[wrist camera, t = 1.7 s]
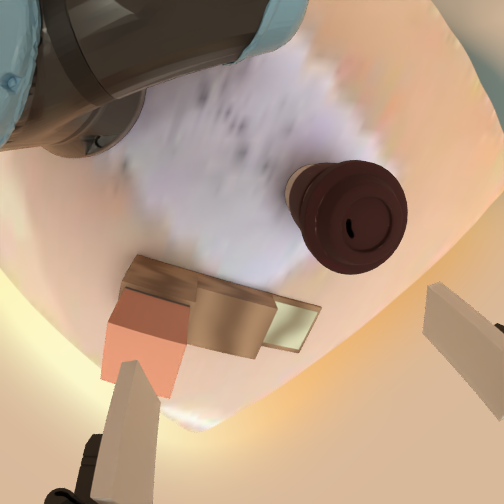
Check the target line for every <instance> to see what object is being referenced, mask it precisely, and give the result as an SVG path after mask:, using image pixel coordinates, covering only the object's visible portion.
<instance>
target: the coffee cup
mask: <svg viewBox="0 0 504 504" xmlns="http://www.w3.org/2000/svg"><path fill="white" fill-rule="evenodd" d="M285 200H286V204H287V207H288V209H289V210H290V212H291V215H292V217H293V219H294V221H295V222H296V224H297V225H298V227H299V228H300V230H301V232H302V236H303V239H304V241H305V244H306V246H307V247H308V249H309V251H310V252H311V253H312V254H313V256H314V257H315V258H316V259H317V260H318V261H319V262H320V263H321V264H322V265H323V266H325V267H326V268H328V269H330V270H332V271H334V272H337V273H341V274H348V275H353V274H361V273H365V272H368V271H370V270H373V269H375V268H376V267H378V266H379V265H381V264H382V263H384V262H385V261H386V260H387V259H388V258H389V257H390V256H391V255H392V254H393V253H394V251H395V250H396V249H397V247H398V246H399V244H400V242H401V240H402V238H403V235H404V232H405V229H406V224H407V214H408V210H407V201H406V198H405V194H404V191H403V189H402V187H401V185H400V184H399V182H398V180H397V179H396V178H395V177H394V176H393V175H392V174H391V173H390V172H389V171H388V170H386V169H385V168H383V167H382V166H380V165H377V164H375V163H371V162H366V161H361V160H349V161H344V162H340V163H319V164H311V165H306V166H304V167H302V168H300V169H298V170H297V171H296V172H295V173H294V174H293V175H292V176H291V177H290V179H289V181H288V183H287V186H286V190H285Z"/></svg>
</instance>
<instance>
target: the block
mask: <svg viewBox="0 0 504 504" xmlns="http://www.w3.org/2000/svg"><path fill="white" fill-rule="evenodd" d="M189 311H190V305H186V304H183V303H179V302H176V301H172V300H169V299H165V298H162V297H159V296H155V295H152V294H149V293H145V292H142V291H139V290H136V289H132V288H129V287H125V289H124V291H123V292H122V294H121V296H120V298H119V300H118V302H117V304H116V306H115V308H114V310H113V312H112V314H111V316H110V318H109V321H108V324H107V330H106V337H105V345H104V353H103V361H102V370H101V379H102V380H105V381H108V382H111V383H114V384H116V381H117V378H118V374H119V370H120V367H121V364H122V362H126V361H133V360H138V361H139V363H140V365H141V367H142V369H143V371H144V373H145V375H146V377H147V379H148V380H149V382H150V384H151V386H152V388H153V390H154V391H155V393H156V395H157V396H161V397H165V398H169V399H170V396H171V393H172V390H173V387H174V383H175V380H176V377H177V374H178V371H179V367H180V364H181V361H182V358H183V355H184V352H185V348H186V345H187V334H188V322H189Z"/></svg>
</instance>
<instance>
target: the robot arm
mask: <svg viewBox="0 0 504 504" xmlns="http://www.w3.org/2000/svg"><path fill="white" fill-rule="evenodd" d="M307 5H308V0H0V152H1V151H8V150H15V149H22V148H29V147H38V146H42V147H43V148H45V149H46V150H48V151H49V152H51V153H53V154H55V155H58V156H61V157H66V158H82V157H88V156H93V155H96V154H99V153H102V152H104V151H106V150H108V149H110V148H111V147H113V146H114V145H116V144H117V143H118V142H119V141H120V140H122V139H123V138H124V137H125V136H126V134H127V133H128V132H129V131H130V130H131V128H132V127H133V125H134V124H135V122H136V120H137V119H138V117H139V114H140V112H141V110H142V107H143V103H144V99H145V93H146V88H148V87H151V86H154V85H156V84H159V83H162V82H165V81H168V80H171V79H174V78H177V77H180V76H183V75H186V74H189V73H193V72H196V71H199V70H203V69H206V68H210V67H213V66H217V65H221V64H222V65H225V66H226V65H233V64H236V63H237V62H240V61H242V60H243V59H245V58H248V57H252V56H256V55H260V54H264V53H268V52H271V51H274V50H277V49H278V48H280V47H281V46H283V45H285V44H286V43H287V42H288V41H290V40H291V39H292V37H293V36H294V35H295V33H296V32H297V30H298V29H299V27H300V25H301V23H302V21H303V18H304V16H305V12H306V9H307ZM423 334H424V335H425V336H426V337H427V338H428V340H429V341H430V342H431V343H432V344H433V345H434V346H435V347H436V348H437V349H438V350H439V352H440V353H441V354H442V355H443V356H444V357H445V358H446V359H447V360H448V362H449V363H450V364H451V365H452V366H453V367H454V368H455V369H456V370H457V372H458V373H459V374H460V375H461V376H462V377H463V378H464V380H465V381H466V382H467V383H468V384H469V385H470V387H471V388H472V389H473V390H474V391H475V392H476V394H478V396H479V397H480V398H481V399H482V401H483V402H484V403H485V404H486V406H487V407H488V408H489V409H490V410H491V412H492V413H493V414H494V415H495V416H496V418H497V419H498V420H499V421H501V420H503V419H504V326H503V325H500V324H498V323H497V324H495V325H493V324H492V323H491V322H490V321H488V320H487V319H486V318H485V317H484V316H482V315H481V314H480V313H479V312H477V311H476V310H475V309H474V308H473V307H471V306H470V305H469V304H467V303H466V302H465V301H464V300H463V299H461V298H460V297H459V296H458V295H456V294H455V293H454V292H453V291H451V290H450V289H449V288H447V287H446V286H445V285H444V284H442V283H441V282H437V283H435V284H432V285H429V286H427V297H426V307H425V317H424V326H423ZM160 403H161V402H160V400H159V399H158V397H157V395H156V393H155V391H154V390H153V388H152V386H151V384H150V382H149V380H148V379H147V377H146V375H145V373H144V371H143V369H142V367H141V365H140V363H139V361H138V360H133V361H126V362H122V364H121V367H120V370H119V374H118V378H117V381H116V385H115V389H114V392H113V396H112V399H111V404H110V407H109V411H108V415H107V419H106V423H105V427H104V431H103V434H93V435H92V436H91V438H90V439H89V441H88V442H87V443H86V445H85V449H84V453H83V458H82V461H81V467H80V470H79V474H78V478H77V483H76V488H75V492H74V493H73V492H71V491H70V490H68V489H65V488H57V489H55V490H52V491H51V492H50V493H49V494H48V495H47V497H46V499H45V502H44V504H153V487H154V470H155V457H156V445H157V433H158V423H159V413H160Z"/></svg>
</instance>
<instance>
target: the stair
mask: <svg viewBox="0 0 504 504" xmlns="http://www.w3.org/2000/svg"><path fill="white" fill-rule="evenodd" d="M125 287H129V288H132V289H136V290H139V291H142V292H145V293H149V294H152V295H155V296H159V297H162V298H165V299H169V300H172V301H176V302H179V303H183V304H186V305H190V311H189V322H188V334H187V344H190V345H193V346H197V347H201V348H206V349H210V350H214V351H218V352H222V353H227V354H231V355H236V356H240V357H245V358H250V359H255V358H256V356H257V354H258V352H259V349H260V347H261V346H265V347H270V348H275V349H280V350H285V351H290V352H295V353H299V352H300V350H301V348H302V346H303V344H304V342H305V340H306V338H307V337H308V335H309V333H310V331H311V329H312V327H313V325H314V323H315V321H316V319H317V317H318V315H319V313H320V311H321V309H322V308H321V307H320V306H316V305H312V304H308V303H304V302H301V301H297V300H293V299H289V298H286V297H282V296H278V295H275V294H271V293H267V292H264V291H260V290H256V289H253V288H249V287H246V286H242V285H238V284H235V283H231V282H228V281H224V280H221V279H217V278H214V277H211V276H207V275H204V274H200V273H197V272H193V271H190V270H187V269H183V268H180V267H177V266H173V265H170V264H167V263H163V262H160V261H157V260H153V259H150V258H147V257H144V256H140V255H137V256H136V257H135V259H134V261H133V262H132V264H131V266H130V268H129V269H128V271H127V273H126V275H125V276H124V278H123V280H122V283H121V288H120V293H119V298H120V296H121V294H122V292H123V291H124V289H125ZM118 300H119V299H118Z"/></svg>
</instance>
